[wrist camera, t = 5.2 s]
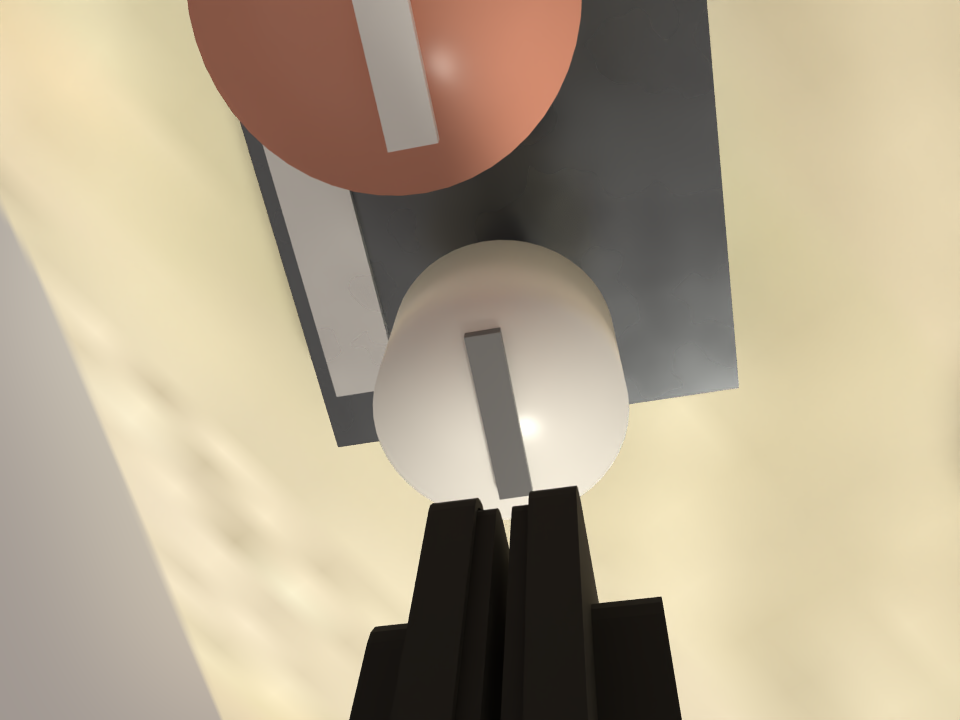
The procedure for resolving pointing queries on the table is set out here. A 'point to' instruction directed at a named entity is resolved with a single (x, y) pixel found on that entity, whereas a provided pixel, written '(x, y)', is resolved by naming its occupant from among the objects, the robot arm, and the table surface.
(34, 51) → the table surface
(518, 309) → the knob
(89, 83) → the table surface
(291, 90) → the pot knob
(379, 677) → the robot arm
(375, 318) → the mount plate
